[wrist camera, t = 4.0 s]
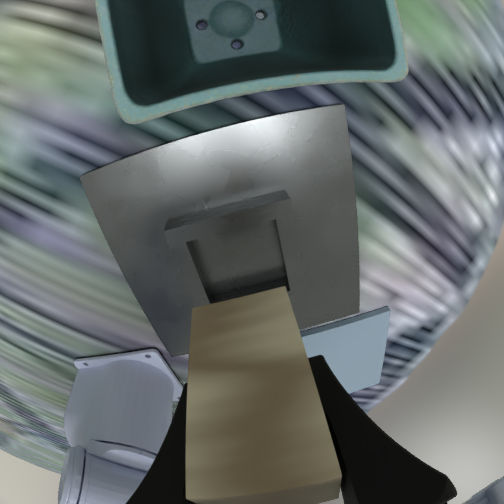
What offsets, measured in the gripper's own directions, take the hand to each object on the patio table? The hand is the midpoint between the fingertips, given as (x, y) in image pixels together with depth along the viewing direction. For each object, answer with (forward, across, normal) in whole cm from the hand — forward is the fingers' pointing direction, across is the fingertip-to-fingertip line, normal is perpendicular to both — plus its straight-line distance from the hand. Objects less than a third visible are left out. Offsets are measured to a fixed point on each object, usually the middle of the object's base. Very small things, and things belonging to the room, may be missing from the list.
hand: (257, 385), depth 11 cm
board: (+10, -5, +15) cm, 19 cm away
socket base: (+10, 0, 0) cm, 10 cm away
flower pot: (+11, -3, -14) cm, 18 cm away
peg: (+3, 0, 0) cm, 3 cm away
